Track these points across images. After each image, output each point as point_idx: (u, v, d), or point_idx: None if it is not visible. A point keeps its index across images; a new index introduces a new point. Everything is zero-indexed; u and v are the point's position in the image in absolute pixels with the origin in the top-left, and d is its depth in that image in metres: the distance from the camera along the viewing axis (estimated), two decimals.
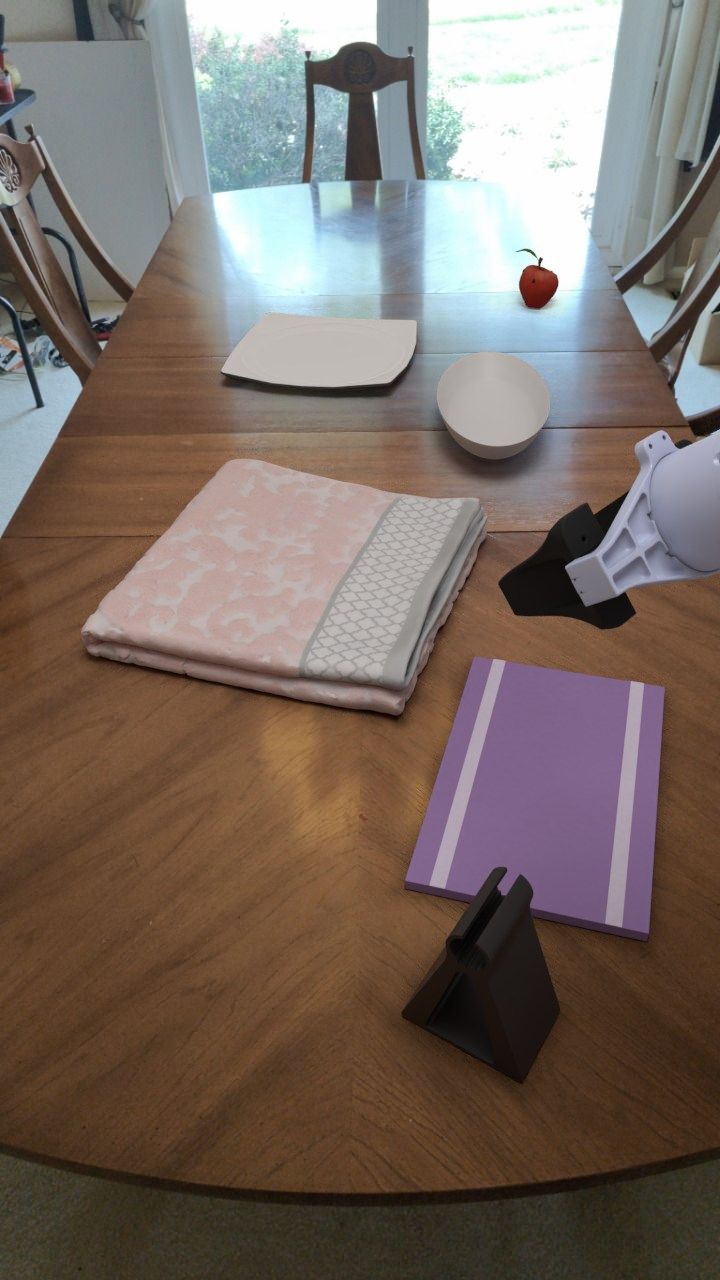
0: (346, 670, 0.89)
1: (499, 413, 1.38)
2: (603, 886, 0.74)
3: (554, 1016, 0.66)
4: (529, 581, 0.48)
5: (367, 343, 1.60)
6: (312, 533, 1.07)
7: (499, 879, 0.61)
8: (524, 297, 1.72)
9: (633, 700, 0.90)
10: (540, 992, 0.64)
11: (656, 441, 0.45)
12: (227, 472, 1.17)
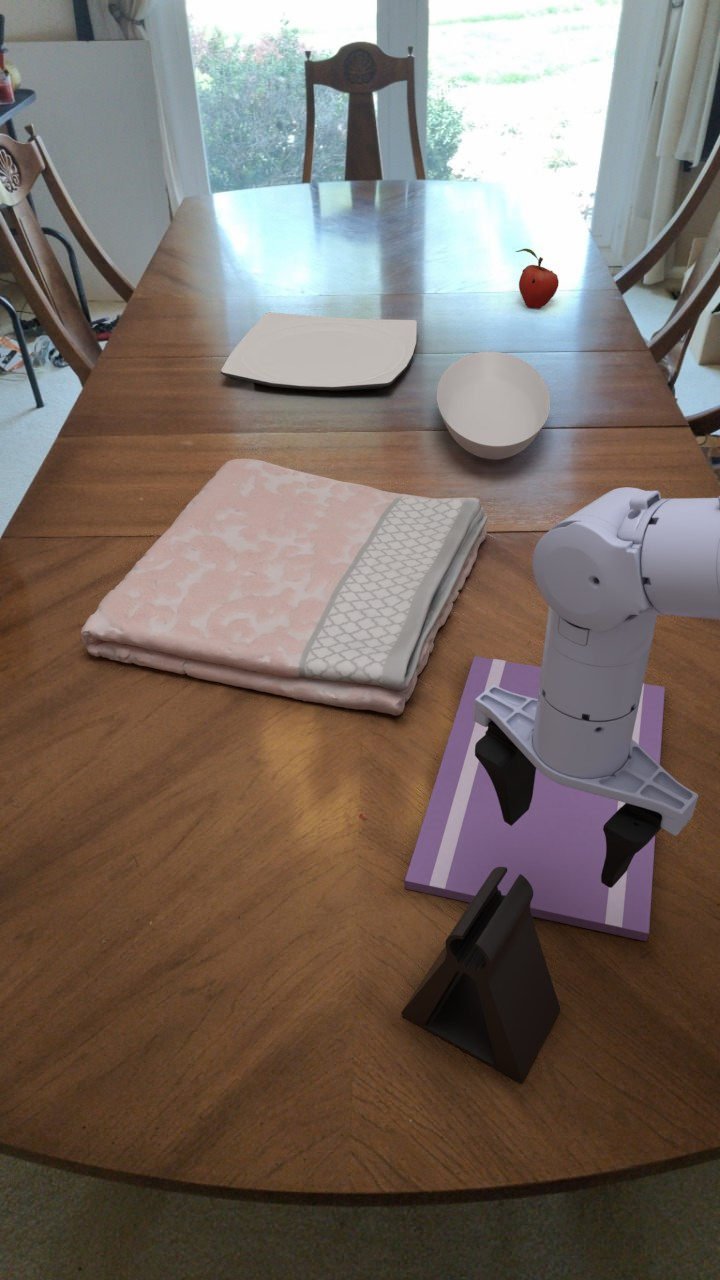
0: (346, 670, 0.89)
1: (499, 413, 1.38)
2: (603, 886, 0.74)
3: (554, 1016, 0.66)
4: None
5: (367, 343, 1.60)
6: (312, 533, 1.07)
7: (499, 879, 0.61)
8: (524, 297, 1.72)
9: None
10: (540, 992, 0.64)
11: None
12: (227, 472, 1.17)
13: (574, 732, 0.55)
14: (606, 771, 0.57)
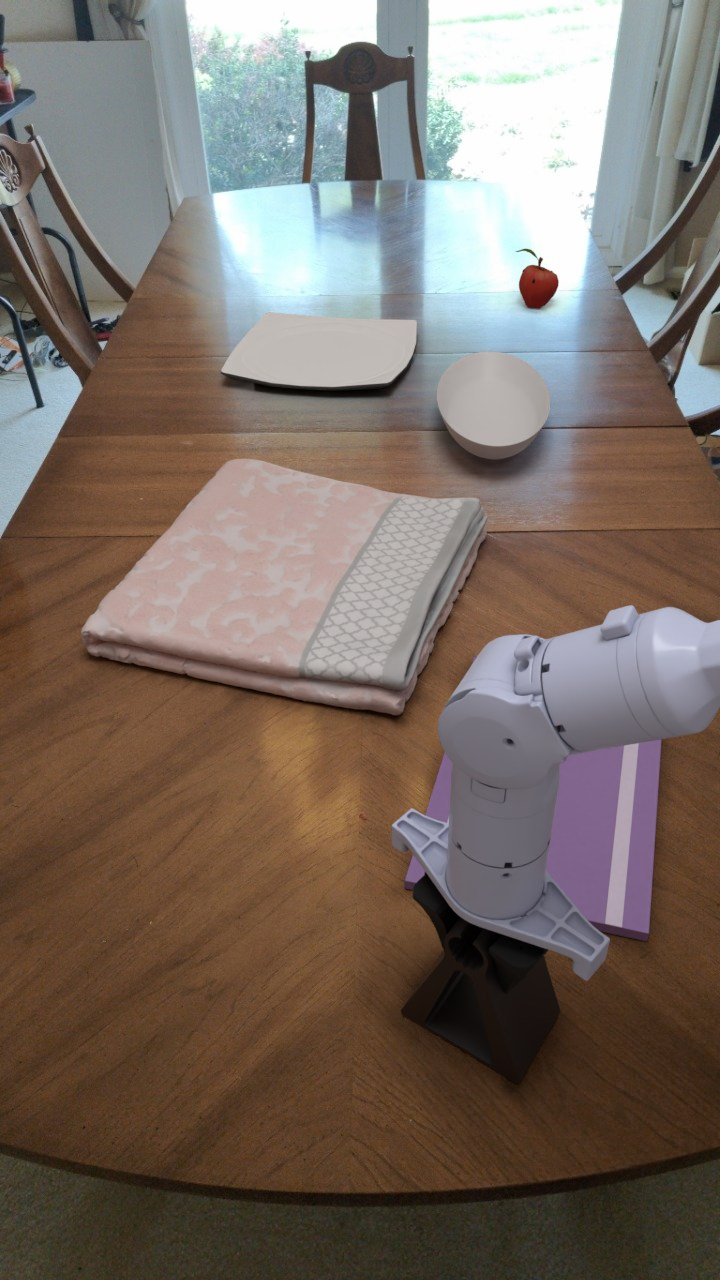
0: (346, 670, 0.89)
1: (499, 413, 1.38)
2: (603, 886, 0.74)
3: (554, 1018, 0.65)
4: None
5: (367, 343, 1.60)
6: (312, 533, 1.07)
7: None
8: (524, 297, 1.72)
9: None
10: (539, 993, 0.64)
11: None
12: (227, 472, 1.17)
13: (482, 876, 0.54)
14: (517, 912, 0.55)
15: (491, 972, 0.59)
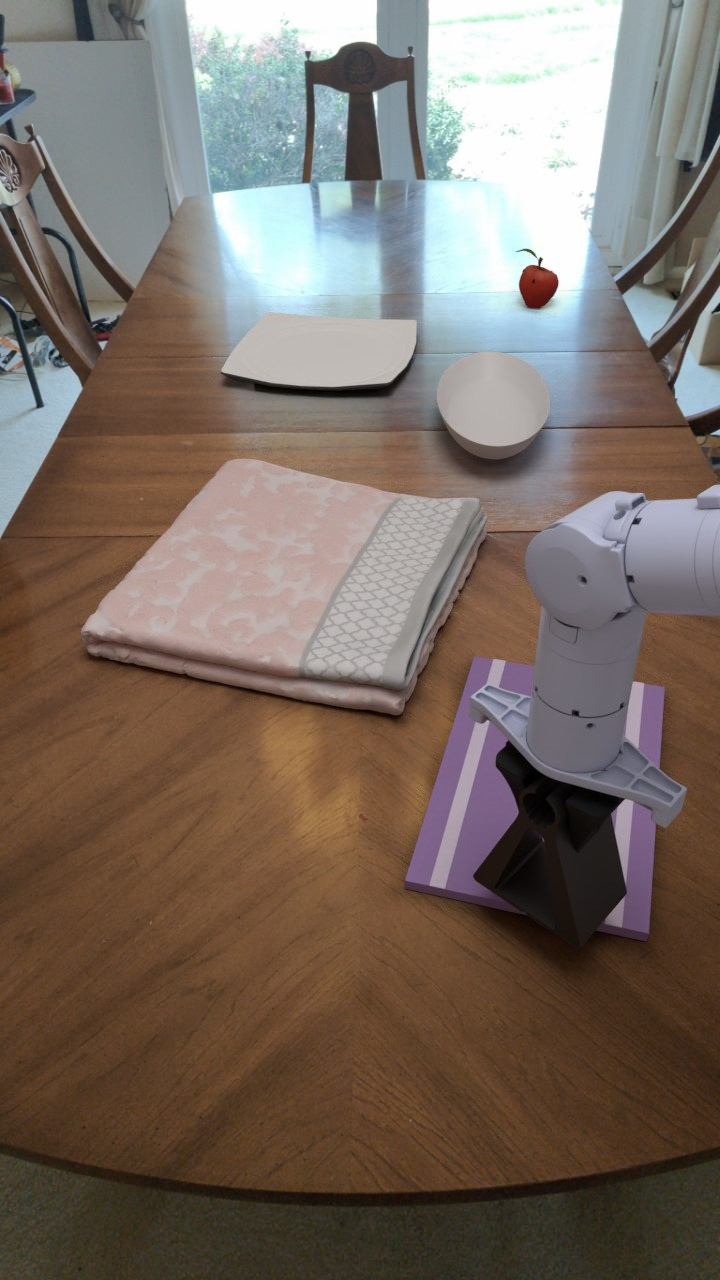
0: (346, 670, 0.89)
1: (499, 413, 1.38)
2: None
3: (620, 897, 0.68)
4: None
5: (367, 343, 1.60)
6: (312, 533, 1.07)
7: None
8: (524, 297, 1.72)
9: (633, 700, 0.90)
10: (607, 869, 0.66)
11: None
12: (227, 472, 1.17)
13: (567, 728, 0.57)
14: (598, 766, 0.58)
15: (561, 832, 0.62)
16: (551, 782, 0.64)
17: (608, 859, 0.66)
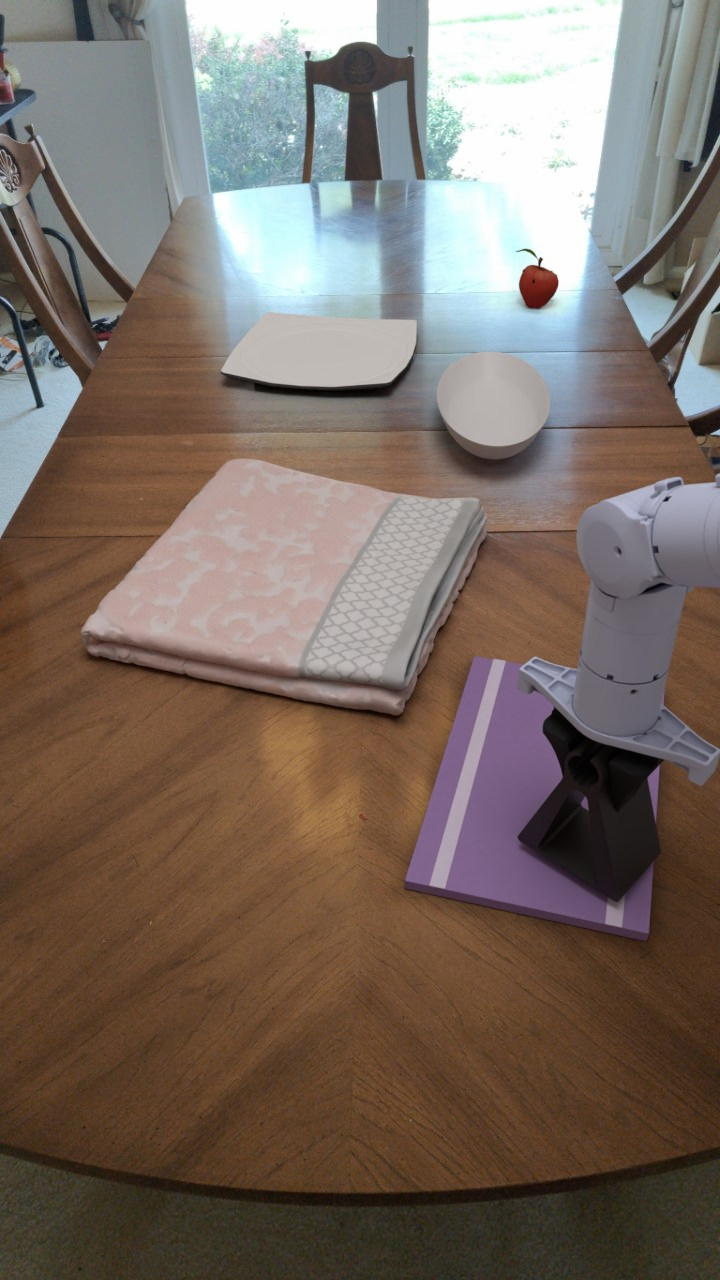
0: (346, 670, 0.89)
1: (499, 413, 1.38)
2: None
3: (654, 856, 0.74)
4: None
5: (367, 343, 1.60)
6: (312, 533, 1.07)
7: None
8: (524, 297, 1.72)
9: None
10: (643, 829, 0.72)
11: None
12: (227, 472, 1.17)
13: (612, 694, 0.62)
14: (639, 730, 0.64)
15: (604, 792, 0.68)
16: (593, 747, 0.70)
17: (644, 820, 0.72)
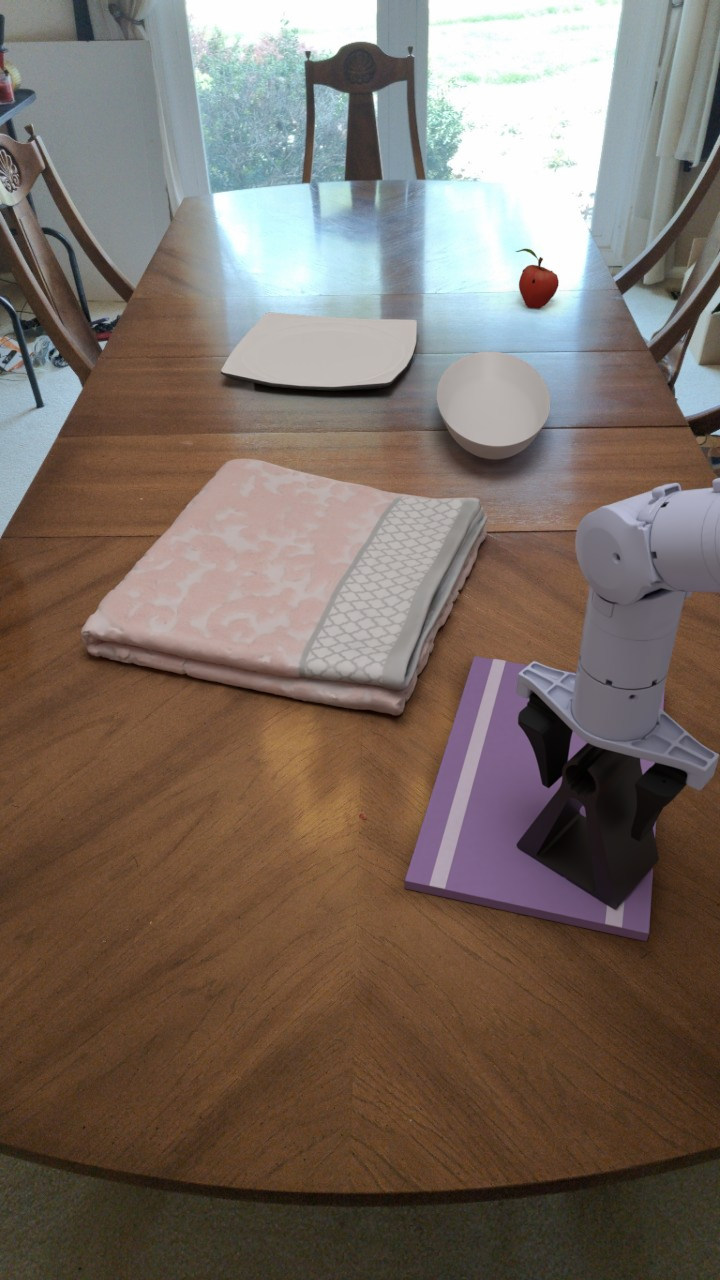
0: (346, 670, 0.89)
1: (499, 413, 1.38)
2: None
3: (652, 863, 0.74)
4: None
5: (367, 343, 1.60)
6: (312, 533, 1.07)
7: None
8: (524, 297, 1.72)
9: None
10: None
11: None
12: (227, 472, 1.17)
13: (611, 699, 0.62)
14: (638, 734, 0.64)
15: (601, 800, 0.68)
16: (590, 756, 0.70)
17: None
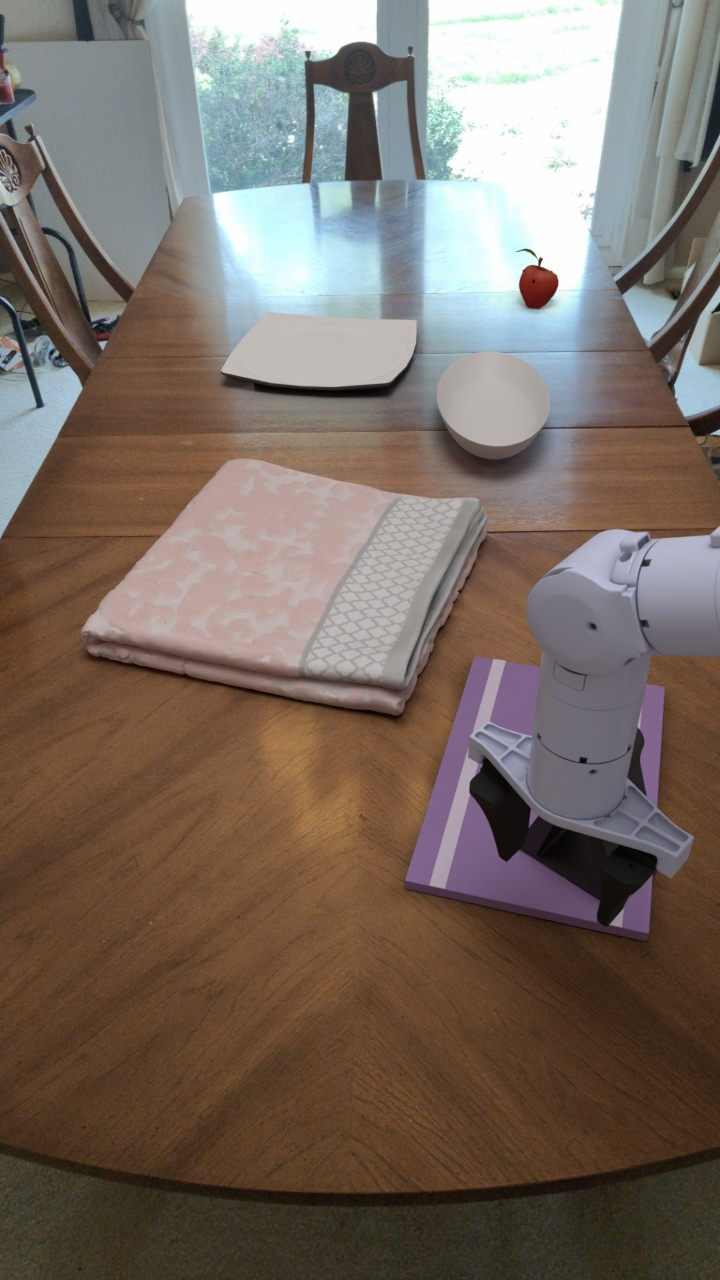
0: (346, 670, 0.89)
1: (499, 413, 1.38)
2: None
3: None
4: None
5: (367, 343, 1.60)
6: (312, 533, 1.07)
7: None
8: (524, 297, 1.72)
9: None
10: None
11: None
12: (227, 472, 1.17)
13: (568, 774, 0.54)
14: (601, 812, 0.56)
15: None
16: None
17: None
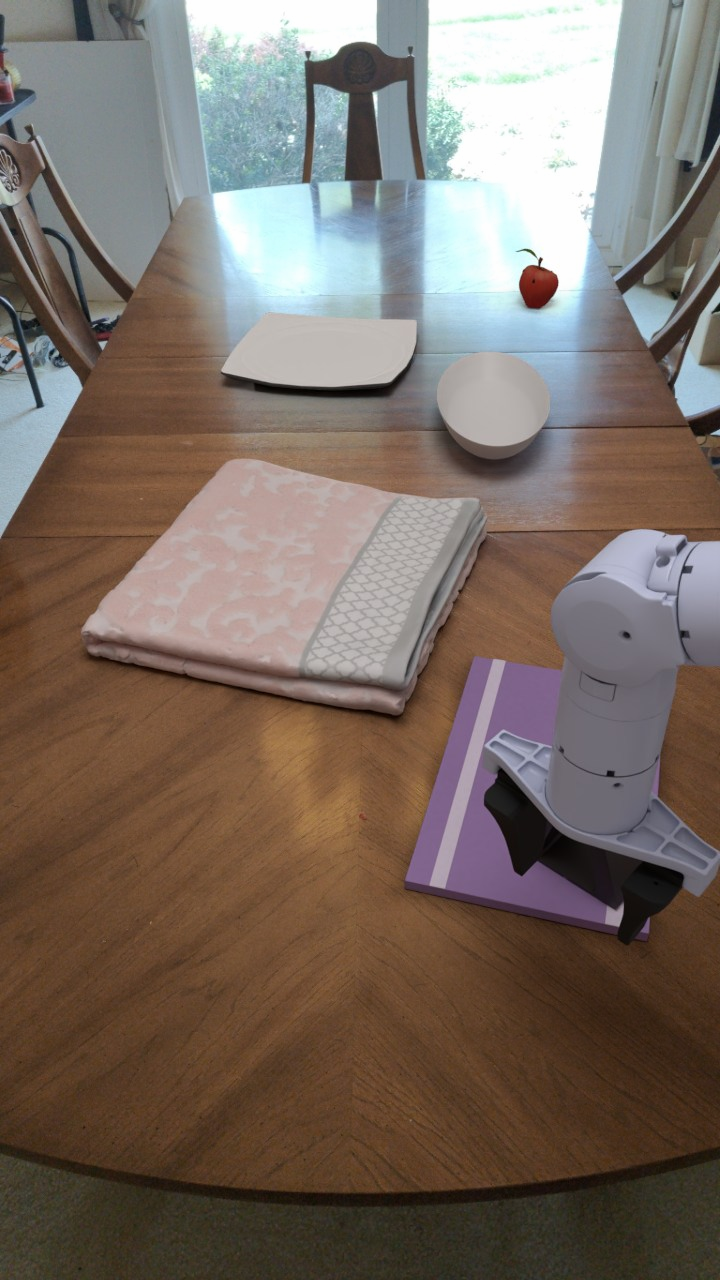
0: (346, 670, 0.89)
1: (499, 413, 1.38)
2: None
3: None
4: None
5: (367, 343, 1.60)
6: (312, 533, 1.07)
7: None
8: (524, 297, 1.72)
9: None
10: None
11: None
12: (227, 472, 1.17)
13: (591, 787, 0.52)
14: (624, 827, 0.53)
15: None
16: None
17: None
